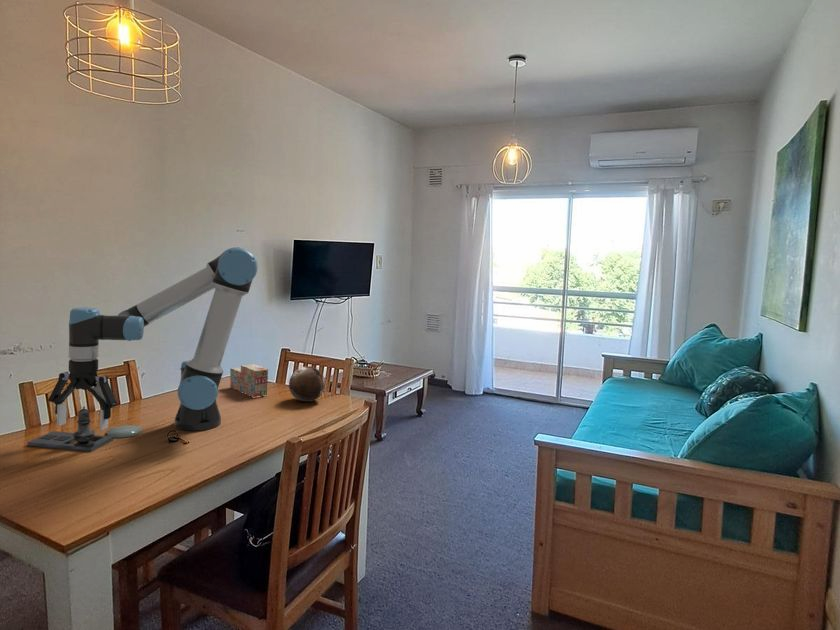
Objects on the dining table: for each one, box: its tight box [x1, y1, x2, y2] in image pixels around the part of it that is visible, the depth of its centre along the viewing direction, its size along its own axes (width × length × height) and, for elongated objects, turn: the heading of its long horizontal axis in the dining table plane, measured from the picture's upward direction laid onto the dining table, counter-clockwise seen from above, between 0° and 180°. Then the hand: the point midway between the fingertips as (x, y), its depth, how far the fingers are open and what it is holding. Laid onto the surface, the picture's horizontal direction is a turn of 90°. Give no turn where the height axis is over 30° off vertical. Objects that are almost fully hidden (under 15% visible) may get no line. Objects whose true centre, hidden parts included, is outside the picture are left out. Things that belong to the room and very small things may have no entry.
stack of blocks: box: [229, 363, 269, 397], centre depth 227 cm, size 21×6×12 cm, turn 48°
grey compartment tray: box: [27, 430, 114, 453], centre depth 158 cm, size 20×10×1 cm, turn 86°
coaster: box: [106, 424, 143, 439], centre depth 170 cm, size 10×10×1 cm
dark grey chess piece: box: [72, 406, 96, 446], centre depth 158 cm, size 6×6×12 cm
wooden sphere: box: [288, 366, 326, 402], centre depth 219 cm, size 15×15×15 cm
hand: (82, 426), depth 158 cm, fingers open, 13 cm apart
